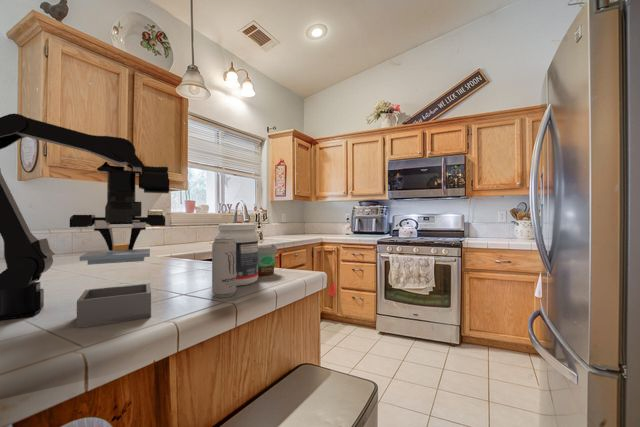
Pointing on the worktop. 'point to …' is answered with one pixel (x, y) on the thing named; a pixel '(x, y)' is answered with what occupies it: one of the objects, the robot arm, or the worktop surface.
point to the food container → (266, 260)
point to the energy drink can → (223, 267)
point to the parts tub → (113, 305)
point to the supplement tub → (243, 250)
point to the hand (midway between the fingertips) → (121, 256)
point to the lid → (116, 255)
